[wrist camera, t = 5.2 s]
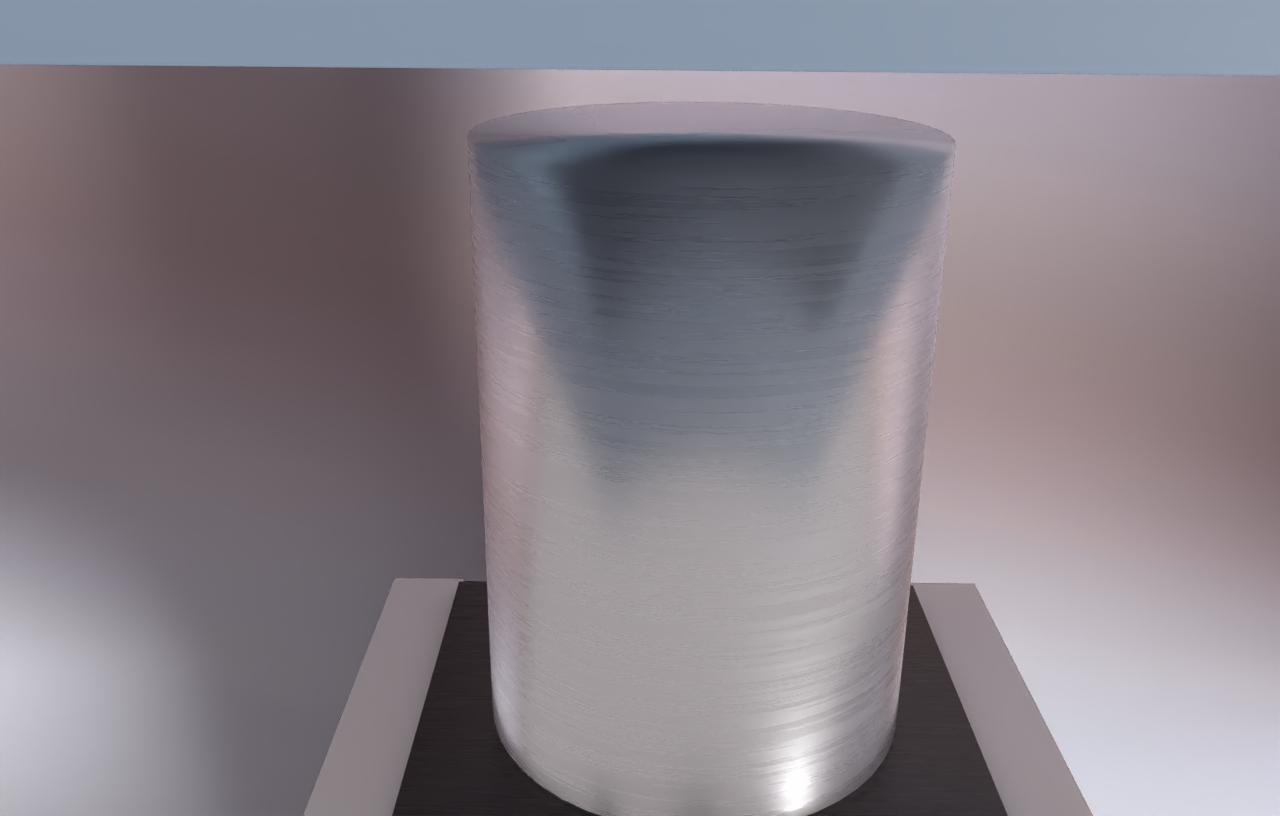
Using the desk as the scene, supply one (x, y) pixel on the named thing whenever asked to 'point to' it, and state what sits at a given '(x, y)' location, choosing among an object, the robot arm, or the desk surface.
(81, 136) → the desk surface
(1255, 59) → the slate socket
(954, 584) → the robot arm
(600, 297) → the metal rod with block
